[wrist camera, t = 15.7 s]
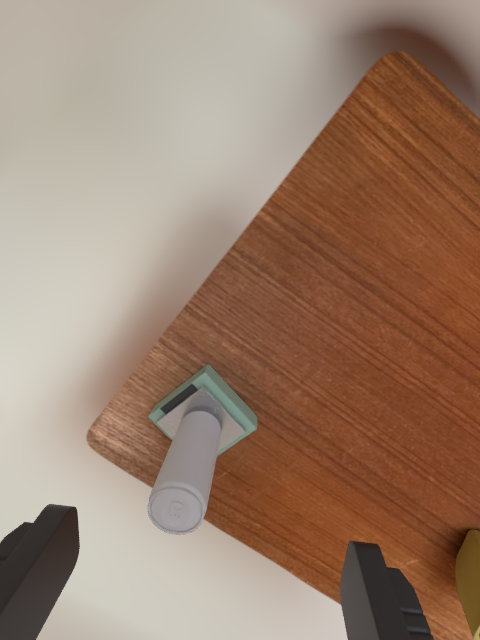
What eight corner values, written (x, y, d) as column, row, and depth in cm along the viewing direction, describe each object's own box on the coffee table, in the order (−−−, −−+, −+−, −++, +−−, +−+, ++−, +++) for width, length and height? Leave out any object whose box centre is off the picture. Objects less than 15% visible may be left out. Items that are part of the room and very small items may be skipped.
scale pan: (157, 418, 41) (155, 422, 40) (203, 383, 39) (202, 386, 39) (199, 461, 42) (198, 465, 42) (246, 428, 41) (245, 432, 40)
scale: (153, 405, 44) (147, 417, 41) (208, 363, 42) (204, 373, 39) (203, 455, 45) (199, 470, 43) (257, 416, 43) (257, 429, 41)
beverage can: (176, 440, 41) (141, 528, 29) (183, 403, 39) (150, 481, 28) (217, 449, 41) (198, 542, 29) (226, 413, 39) (210, 495, 28)
